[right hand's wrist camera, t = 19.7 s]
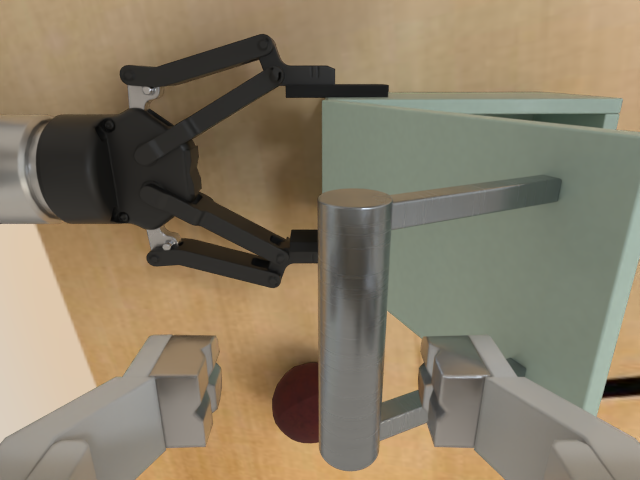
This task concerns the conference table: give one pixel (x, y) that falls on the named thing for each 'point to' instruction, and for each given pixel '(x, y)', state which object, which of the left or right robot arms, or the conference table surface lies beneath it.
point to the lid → (467, 254)
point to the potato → (298, 403)
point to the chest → (510, 105)
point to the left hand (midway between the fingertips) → (381, 169)
